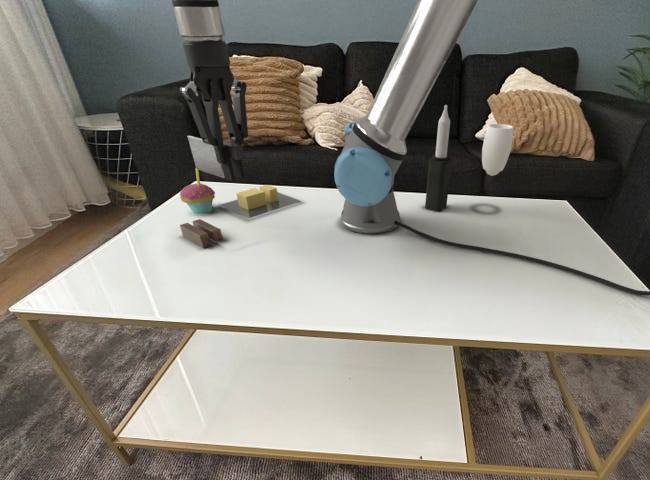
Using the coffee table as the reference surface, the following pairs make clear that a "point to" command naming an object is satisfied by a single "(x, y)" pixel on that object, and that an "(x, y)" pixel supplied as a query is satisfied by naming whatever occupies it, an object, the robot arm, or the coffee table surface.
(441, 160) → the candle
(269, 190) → the butter pat
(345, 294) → the coffee table surface
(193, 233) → the chocolate bar
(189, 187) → the cupcake
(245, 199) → the butter
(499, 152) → the cup
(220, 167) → the cleaver
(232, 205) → the plate
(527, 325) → the coffee table surface
